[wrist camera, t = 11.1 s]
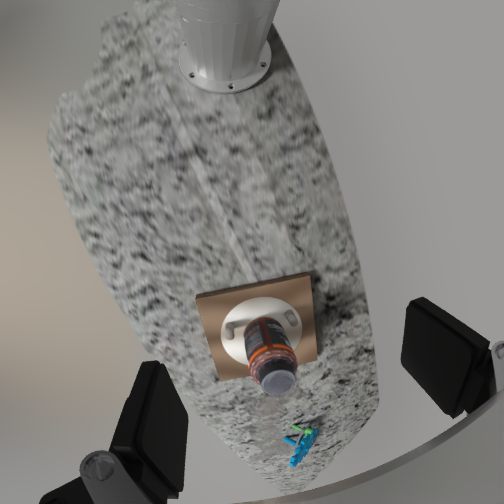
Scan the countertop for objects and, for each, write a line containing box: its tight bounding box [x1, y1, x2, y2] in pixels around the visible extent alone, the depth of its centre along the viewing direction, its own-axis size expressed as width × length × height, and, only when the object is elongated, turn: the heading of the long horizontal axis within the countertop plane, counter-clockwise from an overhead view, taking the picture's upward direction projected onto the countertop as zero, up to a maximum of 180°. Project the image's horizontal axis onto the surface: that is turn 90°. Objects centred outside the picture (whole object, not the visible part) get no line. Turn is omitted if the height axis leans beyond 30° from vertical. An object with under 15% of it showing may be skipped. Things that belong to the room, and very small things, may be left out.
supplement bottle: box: [243, 317, 298, 395], centre depth 33 cm, size 6×6×11 cm
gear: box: [284, 424, 318, 467], centre depth 46 cm, size 11×6×10 cm
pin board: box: [196, 272, 317, 381], centre depth 38 cm, size 15×16×4 cm
